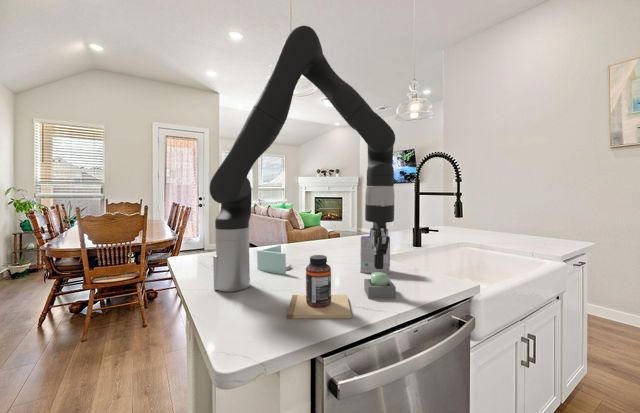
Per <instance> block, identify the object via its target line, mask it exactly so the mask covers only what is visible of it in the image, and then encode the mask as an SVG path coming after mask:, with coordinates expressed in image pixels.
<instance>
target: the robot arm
mask: <svg viewBox="0 0 640 413" xmlns="http://www.w3.org/2000/svg"><path fill="white" fill-rule="evenodd" d="M277 57H278V58H277V60H276V62H275V64H274V67H273V69H272V71H271V74H270V76H269V77H268V79H267V81H266V82H265V84H264V86H263V89H262V90H261V92H260V94H259V96H258V98H257V99H256V101H255V103H254V104H253V107H252V109H251V110H250V112H249V114H248V116H247V118H246V120H245V122H244V124H243V126H242V128H241V130H240V132H239V133H238V135H237V137H236V139H235V141H234V143H233V144H232V146H231V149H230V150H229V152H228V153H227V156H226V157H225V158H224V160H223V161H222V162H221V164H220V166H219V167H218V168H217V170H216V171H215V173H213V176H212V178H211V179H210V183H209V194H210V196H211V198H212V199H213V201H214V202H216V203H218V204H221V206H220V211H219V214H218V215H217V216H216V217H215V220H214V224H215V226H214V227H215V228H214V229H215V230H214V232H215V233H214V234H215V255H213V257H212V258H213V259H212V260H213V264H212V265H213V266H212V267H213V290H214V291H220V292H225V293H226V292H229V293H232V292H237V291H243V290H245V289H247V288H249V287H250V286H251V277H250V276H251V275H250V274H251V272H250V268H251V267H250V266H251V264H250V219H251V216H252V185H251V182H250V180H249V178H248V175H249V173H250V171H251V169H252V167H253V165H254V164H255V163H256V162H257V160H258V159H259V158H261V157H262V155H263V154H264V153H265V152H267V150H268V149H269V148H270V147H271V146H272V144H273V143H274V142H275V140H277V138H278V135H279V134H280V132H281V131H282V129H283V126H284V125H285V124H286V121H287V118H288V116H289V113H290V110H291V109H290V108H291V105H292V100H293V96H294V92H295V89H296V86H297V84H298V82H299V81H300V78H301V76H303V77H305V79H307V80H308V81H309V82H310V83H312V84H313V85H314V86H315V87H316V88H317V89H318V90H319V91H320V92H321V93H322V94H323V95H324V96H325V98H327V100H328V102H329V103H330V104H331V105H332V106H333V108H335V110H336V112H338V114H339V115H340V117H341V118H343V120H344V121H345V122H346V123H347V125H348V126H349V127H351V128H352V129H353V130H355V131H356V132H357V133H358V134H359V136H360V137H361V138H362V139H363V140H364V142H365V144H366V145H367V170H366V190H365V198H364V199H365V201H364V202H365V204H364V206H365V210H364V211H365V214H364V215H365V216H364V219H365V220H364V221H366V222H368V223H372V227H370V229H371V232H370V231H369V234H370V233H371V240H372V249H373V252H374V267H375V268H376V269H383V261H384V255H385V254H386V252H387V248H388V243H389V237H390V236H389V229H387V223H393V222H395V199H396V198H395V188H394V187H395V170H394V165H393V161H394V160H393V159H394V146H395V142H396V134H395V131H394V130H393V129H392V127H391V126H390V125H389V124H388V123H387V121H385V120H384V118H382V117H381V116H380V115H379V114H378V113H377V112H375V111H374V110H373V108H372V107H371V106H370V105H369V104H368V102H367V101H366V100H365V99H364V98H363V97H362V96H361V94H360V93H359V92H358V91H357V90H356V89H355V88H354V87H353V86H351V85H350V84H349V83H348V82H346V80H344V79H342V78H341V77H340V76H339V75H338V74H337V73H336V72H335V71H334V69H333V68H332V66H331V65H330V64H329V63H330V62H328V60H327V58H326V57H325V54H324V51H323V47H322V45H321V41H320V38H319V36H318V34H317V32H316V31H315V30H314V28H312V27H311V26H308V25H300V26H297V27H295V28H293V29H292V31H291V32H289V34H288V35H287V37H286V38H285V40H284V43H283V45H282V48H281V49H280V53H279V55H278V56H277ZM387 236H389V237H387Z"/></svg>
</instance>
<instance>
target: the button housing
mask: <svg viewBox="0 0 640 413" xmlns="http://www.w3.org/2000/svg"><path fill="white" fill-rule="evenodd" d="M363 283H364V284H363V289H364V290H363V291H364V293H365V295H366V297H367V298H368V299H370V300H372V299H373V300H374V299H376V300H381V299H384V300H387V299H389V300H390V299H393V300H395V299H396V298H397V296H396V295H397V294H396V293H397V292H396V291H397V287H396V286H395V284H394V283H393V281H392V280H391V279H390V278H388V286H371V278H364V280H363Z"/></svg>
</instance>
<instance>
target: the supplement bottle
mask: <svg viewBox="0 0 640 413" xmlns="http://www.w3.org/2000/svg"><path fill="white" fill-rule="evenodd" d="M327 259H328V258H327V255H323V254H314V255H313V254H312V255H311V256H309V264H308V265H307V266H306V268H305V288H306V289H305V295H306V302H307V304H308V305H310V306H312V307H325V306H327V305H329V304H330V303H331V295H332V269H331V265H329V264H328V263H327V262H328V260H327Z"/></svg>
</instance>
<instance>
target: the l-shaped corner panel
mask: <svg viewBox="0 0 640 413" xmlns="http://www.w3.org/2000/svg"><path fill="white" fill-rule="evenodd" d="M286 255H287V254H286V253H285V252H284V253H283V252H282V245H281V244H279V245H275V246H270V247H265V248H262V249H257V250H256V257H257V258H256V263H257V267H256V268H257V270H258V271H263V272H268V273H274V274H280V275H286V274H287V271H289V270H291V268H292V266H291V265H292V263H289V262H287V260H286V259H287V258H286Z"/></svg>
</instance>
